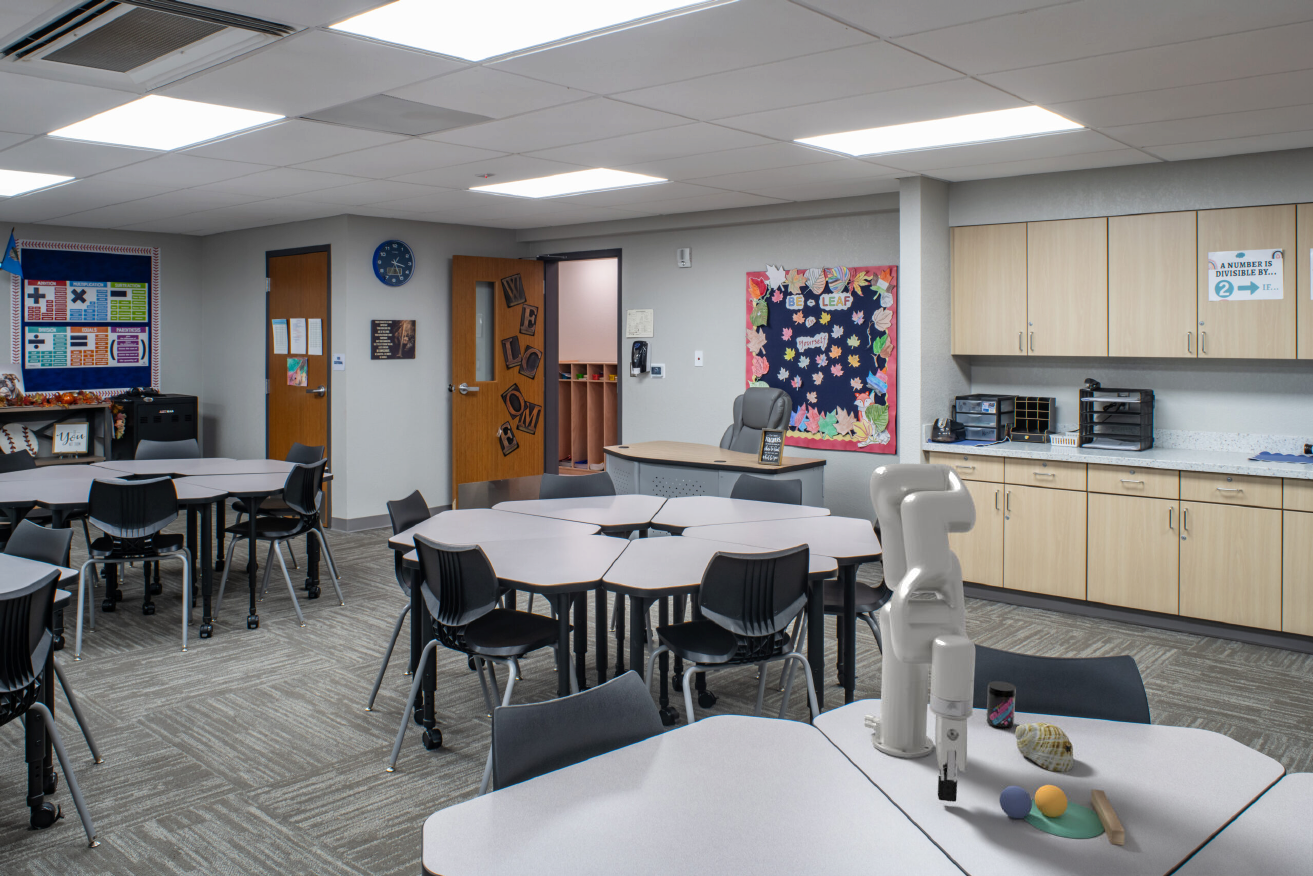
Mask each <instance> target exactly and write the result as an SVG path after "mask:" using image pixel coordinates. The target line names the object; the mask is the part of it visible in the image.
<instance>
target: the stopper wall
mask: <svg viewBox="0 0 1313 876" xmlns="http://www.w3.org/2000/svg"><path fill="white" fill-rule="evenodd" d="M1090 793H1091V797H1090V798H1091V799H1090V803H1091V805H1092V808H1093V809H1094V812H1095V813H1097V814H1098V816H1099V818H1100V821H1101V823H1102V825H1103V827H1104V832H1105V834H1106V836H1107V838H1108V840H1109V842H1110V844H1111V845H1118V846H1119V845H1120V846H1125V837H1126V836H1125V833H1126V832H1125V829H1124V827H1123V825H1122V823H1121V821H1120V820H1119V817H1118V816H1117V814H1116V812H1115V810H1114V809H1113V807H1112V805H1111V803H1110V801H1109V799H1108V797H1107V795H1106V793H1105V791H1104V790H1102V789H1101V790H1100V789H1091V792H1090Z"/></svg>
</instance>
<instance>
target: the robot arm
mask: <svg viewBox="0 0 1313 876" xmlns="http://www.w3.org/2000/svg"><path fill="white" fill-rule="evenodd" d="M869 485H870V486H869V490H870V493H869V494H870V499H871V503H872V506H873V509H874V510H873V511H874V512H875V515H876V518H877V521H878V525H879V528H880V529H879V530H880V538H881V553H882V567H883V569H882V570H883V577H884V582H885V585H886V586H887V588H888V589H889V590H891V591H893V594H892V597H891V600H890V601H888V602H886V603H885V604H884V605H883V606H882V607H881V608H880V610H879V621H878V622H879V629H880V635H881V636H880V637H881V638H880V639H881V644H882V645H881V649H882V659H881V661H882V662H881V663H882V664H881V665H882V666H881V691H880V692H881V693H880V695H881V697H880V717H876V716H875V715H871V714H866V715H865V717H864V727H865V728H868V729H872V730H873V731H874V733H873V735H872V737H871V742H872V745H873V746H874V747H875V748H876V749H877V750H879V751H880V752H883V753H884V754H887V755H891V756H894V757H899V758H906V759H907V758H908V759H910V758H922V757H925V756H927V755H929V754H931V753H932V752H933V751H934V745H935V753H936V760H937V764H938V768H939V775H938V776H937V777H938V778H937V783H938V785H937V798H938V800H940V801H945V802H953V803H954V802H956V801H957V798H958V797H957V796H958V795H957V794H958V793H957V792H958V769H959V771H960V772H962V773H966V771H967V769H968V768H967V767H968V766H967V765H968V764H967V763H968V761H967V758H968V719H969V718H971V717H972V716H973V710H974V709H973V707H974V686H975V667H976V646H975V643H974V641H972V639H970V638H969V635H968V633H967V632H966V629H967V627H966V626H967V623H966V621H967V620H966V608H965V607H966V606H965V596H964V595H965V594H964V585H963V573H962V566H961V563H960V560H959V558H958V556H957V554H956V553H955V552H954V551H953V550H952V549H950V548H951V547H950V541H949V534H955V533H956V534H962V533H963V534H964V533H965V534H967V533H969V532H971V531H972V530H973V529H974V527H975V525H976V520H977V512H976V506H975V503H974V499H973V497H972V495H971V493H970V491H969V489H968V487H967V486H966V484H965V483H964V481H963V479H962V478H961V476H960V475H959V473H958V472H957V470H956V469H955V468H954V467H953V466H951V465H949V464H944V463H891V464H885V465H881V466H879V467H877V468H876V469H875V470H873V472H872V474H871V477H870V483H869ZM913 593H914V594H916V593H917V594H919V593H921V594H922V593H924V594H925V593H934V594H935V595H936V597H937V598H928V599H927V598H925V599H924V598H911V596H912V594H913ZM929 665H931V667H930V668H931V670H929V669H930V668H929ZM930 671H931V672H930ZM929 673H930V674H929ZM929 677H930V681H929ZM929 682H930V694H929ZM929 695H930V696H929ZM928 699H929V701H928ZM928 702H929V703H928ZM928 704H929V711H930V712H931V713H932V714H934V715H935V729H934V730H935V733H934V734H935V736H934V737H935V738H934V741H935V742H934V741H933V740H932V739H931V738H930V736H928V735H927V730H928V729H927V726H928ZM934 743H935V744H934Z"/></svg>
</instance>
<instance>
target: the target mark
mask: <svg viewBox="0 0 1313 876" xmlns="http://www.w3.org/2000/svg"><path fill="white" fill-rule="evenodd" d="M1031 800H1032V808H1031V811H1030V813H1029V814H1028V815H1027V816H1025V817H1023V819H1025V821H1026V822H1027V823H1029V824H1030V825H1031V826H1033V827H1035V828H1036V829H1039V830H1040V831H1043V832H1045V833H1047V834H1049V835H1055V836H1058V837H1063V838H1069V839H1090V838H1095V837H1098V836H1100V835H1102V834H1103V833H1104V832H1105V830H1104V827H1103V825H1102V823H1101V821H1100V818H1099V816H1098V814H1097V813H1096V811H1095V810H1093V809H1090V808H1089V807H1087V806H1084V805H1082V804H1080V803H1077V802H1073V801H1069V800H1067V803H1068V804H1067V809H1066V811H1065V812H1064V813H1063V814H1062V815H1061V816H1058V817H1048V816H1046V815H1044V814H1042V813H1041V812H1040V811H1039V810H1038V808H1037V806H1036V804H1035V798H1033V799H1031Z"/></svg>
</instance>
